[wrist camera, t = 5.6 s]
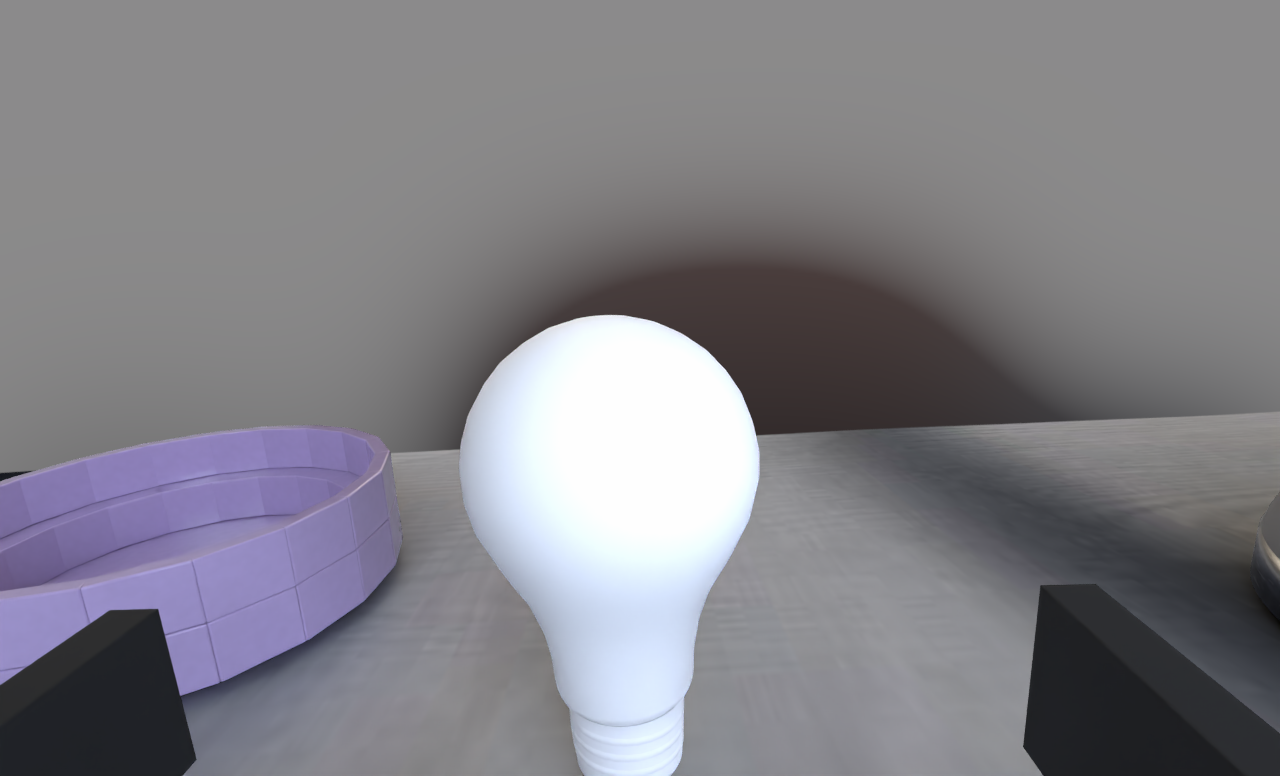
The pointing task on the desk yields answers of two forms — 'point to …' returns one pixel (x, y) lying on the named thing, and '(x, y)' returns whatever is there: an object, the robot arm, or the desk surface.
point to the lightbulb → (613, 517)
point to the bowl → (199, 544)
